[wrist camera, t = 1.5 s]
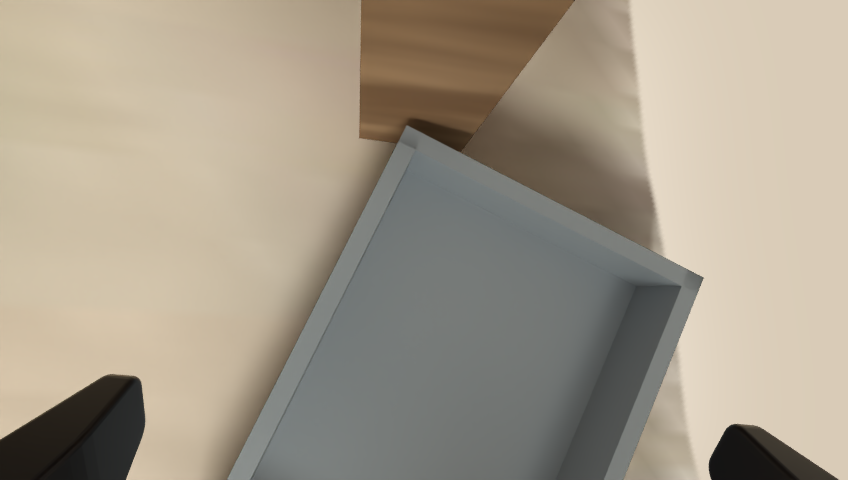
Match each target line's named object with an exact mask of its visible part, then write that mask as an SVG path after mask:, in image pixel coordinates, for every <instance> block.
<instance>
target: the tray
mask: <svg viewBox="0 0 848 480" xmlns="http://www.w3.org/2000/svg"><path fill="white" fill-rule="evenodd" d="M702 281H703V277H701V276H699V275H697V274H695V273H694V272H692V271H689V270H688V269H686V268H684V267H682V266H680V265H678V264H676V263H674V262H672V261H670V260H668V259H666V258H664V257H662V256H660V255H658V254H657V253H655V252H653V251H651V250H649V249H647V248H645V247H643V246H641V245H639V244H637V243H635V242H633V241H631V240H629V239H627V238H625V237H623V236H622V235H620V234H618V233H616V232H614V231H612V230H610V229H608V228H606V227H604V226H602V225H600V224H598V223H596V222H594V221H592V220H590V219H588V218H586V217H585V216H583V215H581V214H579V213H577V212H575V211H573V210H571V209H569V208H567V207H565V206H563V205H561V204H559V203H557V202H555V201H553V200H551V199H549V198H548V197H546V196H544V195H542V194H540V193H538V192H536V191H534V190H532V189H530V188H528V187H526V186H524V185H522V184H520V183H518V182H516V181H514V180H513V179H511V178H509V177H507V176H505V175H503V174H501V173H499V172H497V171H495V170H493V169H491V168H489V167H487V166H485V165H483V164H481V163H479V162H477V161H476V160H474V159H472V158H470V157H468V156H466V155H464V154H462V153H460V152H458V151H456V150H454V149H452V148H450V147H448V146H446V145H444V144H442V143H441V142H439V141H437V140H435V139H433V138H431V137H429V136H427V135H425V134H423V133H421V132H419V131H417V130H415V129H413V128H411V127H409V126H406V128H405V130H404V132H403V133H402V135H401V137H400V139H399V141H398V143H397V145H396V147H395V149H394V151H393V153H392V155H391V157H390V159H389V161H388V163H387V165H386V167H385V169H384V171H383V173H382V175H381V177H380V179H379V181H378V183H377V185H376V187H375V189H374V191H373V193H372V195H371V197H370V199H369V200H368V202H367V204H366V206H365V208H364V210H363V212H362V214H361V216H360V218H359V220H358V222H357V224H356V226H355V228H354V230H353V232H352V234H351V236H350V238H349V240H348V242H347V244H346V246H345V248H344V250H343V252H342V254H341V256H340V258H339V260H338V262H337V264H336V266H335V267H334V269H333V271H332V273H331V275H330V277H329V279H328V281H327V283H326V285H325V287H324V289H323V291H322V293H321V295H320V297H319V299H318V301H317V303H316V305H315V307H314V309H313V311H312V313H311V315H310V317H309V319H308V321H307V323H306V325H305V327H304V329H303V331H302V333H301V335H300V336H299V338H298V340H297V342H296V344H295V346H294V348H293V350H292V352H291V354H290V356H289V358H288V360H287V362H286V364H285V366H284V368H283V370H282V372H281V374H280V376H279V378H278V380H277V382H276V384H275V386H274V388H273V390H272V392H271V394H270V396H269V398H268V400H267V402H266V403H265V405H264V407H263V409H262V411H261V413H260V415H259V417H258V419H257V421H256V423H255V425H254V427H253V429H252V431H251V433H250V435H249V437H248V439H247V441H246V443H245V445H244V447H243V449H242V451H241V453H240V455H239V457H238V459H237V461H236V463H235V465H234V467H233V469H232V470H231V472H230V474H229V476H228V478H227V480H623V479H624V477H625V474H626V472H627V469H628V467H629V464H630V462H631V459H632V456H633V454H634V451H635V449H636V446H637V444H638V441H639V439H640V436H641V434H642V431H643V429H644V426H645V424H646V421H647V419H648V416H649V414H650V411H651V409H652V406H653V404H654V401H655V399H656V396H657V394H658V391H659V389H660V386H661V384H662V381H663V379H664V376H665V374H666V371H667V369H668V366H669V363H670V361H671V358H672V356H673V353H674V351H675V348H676V346H677V343H678V341H679V338H680V336H681V333H682V331H683V328H684V326H685V323H686V321H687V318H688V315H689V313H690V310H691V308H692V306H693V303H694V300H695V298H696V295H697V293H698V291H699V288H700V286H701V283H702Z"/></svg>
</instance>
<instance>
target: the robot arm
mask: <svg viewBox="0 0 848 480" xmlns="http://www.w3.org/2000/svg"><path fill="white" fill-rule="evenodd" d="M144 428H145V411H144V402H143V393H142V385H141V381H140V379H139V378H138V377H136V376H129V375H116V374H110V375H106V376H103V377H102V378H100V379H98V380H97V381H95V382H93V383H92V384H90V385H88V386H87V387H85V388H84V389H82V390H80V391H79V392H77V393H75V394H74V395H72V396H71V397H69V398H67V399H66V400H64V401H62V402H61V403H59V404H58V405H56V406H54V407H53V408H51V409H49V410H48V411H46V412H44V413H43V414H41V415H40V416H38V417H36V418H35V419H33V420H31V421H30V422H28V423H27V424H25V425H23V426H22V427H20V428H18V429H17V430H15V431H14V432H12V433H10V434H9V435H7V436H5V437H4V438H2V439H0V480H126V478H127V475H128V472H129V470H130V467H131V465H132V462H133V459H134V457H135V454H136V452H137V449H138V446H139V444H140V441H141V439H142V436H143V432H144ZM709 473H710V477H711V479H712V480H838V479H837V478H835V477H834V476H832V475H831V474H829V473H828V472H826V471H825V470H823V469H822V468H820V467H819V466H817V465H816V464H814V463H813V462H811V461H810V460H809V459H807V458H805V457H804V456H803V455H801V454H799V453H798V452H796V451H795V450H793V449H792V448H791V447H789V446H788V445H786V444H784V443H783V442H782V441H780V440H778V439H777V438H776V437H774V436H772V435H771V434H770V433H768V432H766V431H765V430H764V429H762V428H760V427H758V426H754V425H741V424H733V425H730V426H729V427H728V428H727V429H726V430H725V432H724V434H723V435H722V437H721V439H720V441H719V443H718V445H717V447H716V448H715V450H714V452H713V454H712V456H711V458H710V460H709Z"/></svg>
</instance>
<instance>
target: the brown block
mask: <svg viewBox="0 0 848 480" xmlns="http://www.w3.org/2000/svg"><path fill="white" fill-rule="evenodd" d="M574 1H575V0H361V61H360V130H359V138H363V139H371V140H378V141H385V142H393V143H398V141H399V139H400V137H401V135H402V133H403V132H404V130H405V128H406V126H409V127H411V128H413V129H415V130H417V131H419V132H421V133H423V134H425V135H427V136H429V137H431V138H433V139H435V140H437V141H439V142H441V143H442V144H444V145H446V146H448V147H450V148H452V149H454V150H456V151H460V152H461V151H462V149H463V148H464V147H465V145H466V144H467V143H468V141H469V140H470V139H471V137H472V136H473V135H474V133H475V132H476V131H477V129H478V128H479V127H480V125H481V124H482V123H483V122H484V120H485V119H486V118H487V116H488V115H489V114H490V112H491V111H492V110H493V108H494V107H495V106H496V104H497V103H498V102H499V100H500V99H501V98H502V96H503V95H504V94H505V92H506V91H507V90H508V88H509V87H510V86H511V84H512V83H513V82H514V80H515V79H516V78H517V76H518V75H519V74H520V72H521V71H522V70H523V68H524V67H525V66H526V64H527V63H528V62H529V60H530V59H531V58H532V56H533V55H534V54H535V52H536V51H537V50H538V48H539V47H540V46H541V45H542V43H543V42H544V41H545V39H546V38H547V37H548V35H549V34H550V33H551V31H552V30H553V29H554V27H555V26H556V25H557V23H558V22H559V21H560V19H561V18H562V17H563V15H564V14H565V13H566V11H567V10H568V9H569V7H570V6H571V5H572V3H573V2H574Z"/></svg>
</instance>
